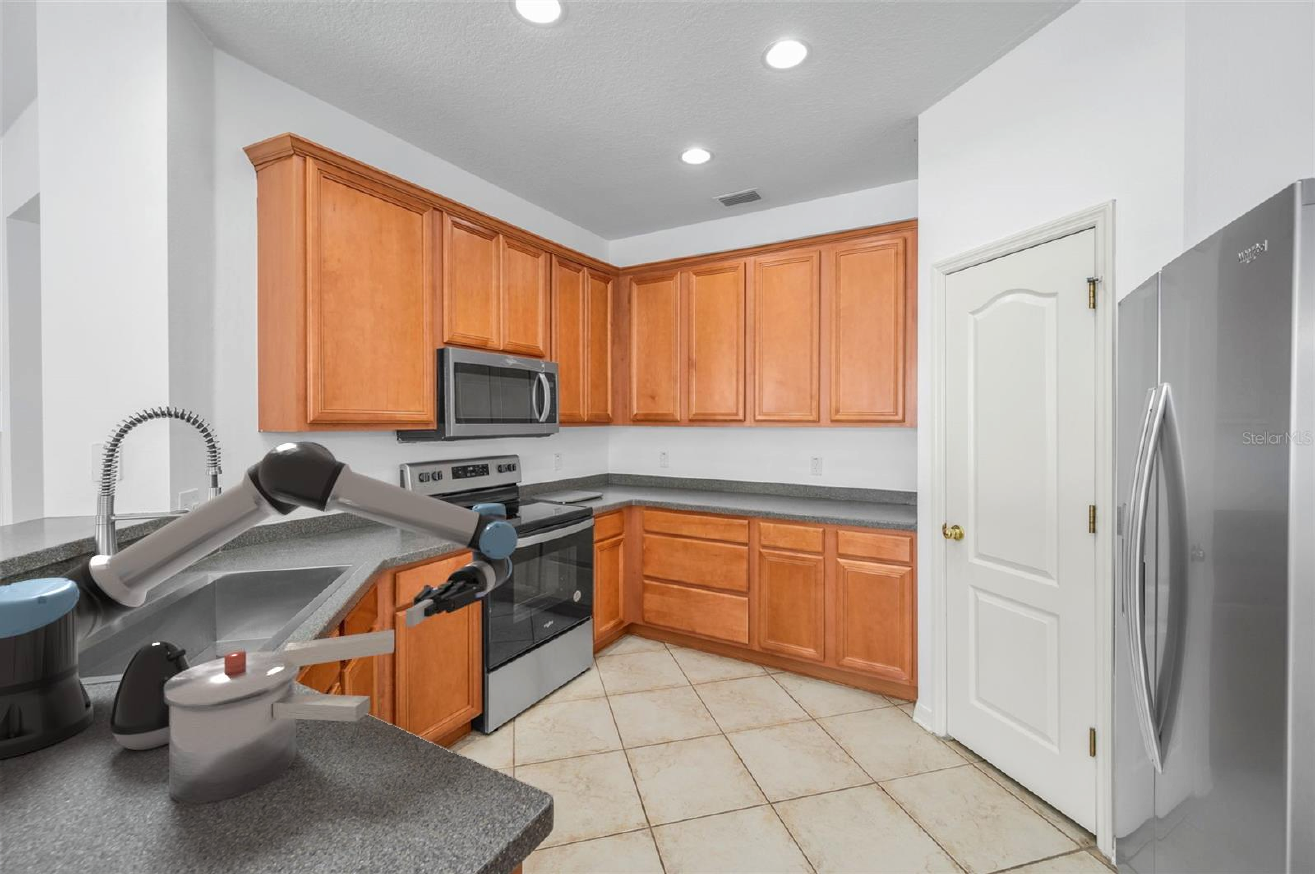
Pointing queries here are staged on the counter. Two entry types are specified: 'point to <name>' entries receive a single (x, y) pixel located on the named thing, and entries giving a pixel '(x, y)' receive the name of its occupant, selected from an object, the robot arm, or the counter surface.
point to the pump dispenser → (146, 696)
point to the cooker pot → (244, 741)
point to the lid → (265, 669)
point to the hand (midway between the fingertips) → (409, 618)
